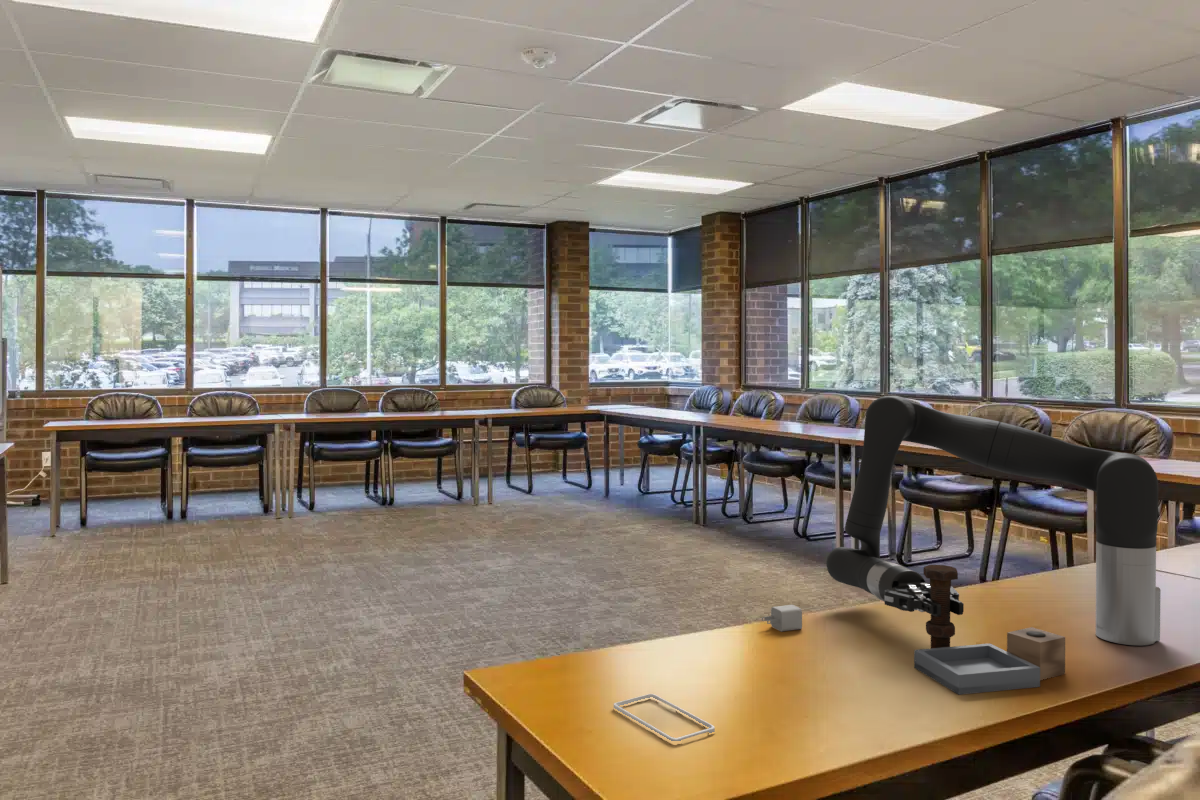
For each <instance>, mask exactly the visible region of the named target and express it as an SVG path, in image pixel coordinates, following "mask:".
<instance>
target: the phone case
mask: <svg viewBox="0 0 1200 800" xmlns="http://www.w3.org/2000/svg"><path fill="white" fill-rule="evenodd" d="M650 697H653V698H655V699H657V700H659V701H660V702H661V703H664V704H665V705H667V706H669V707H671V708H673V709H674V710H675V709H677V710H679V711H680V712H682V713H684V714H686V715H688V716H689V717H691V718H693V719H695V720H696V721H698V722H699V723H702V724H703V725H705V726H707V727H709V728H708V729H706V728H705V729H702V730H699V731H695V732H692V733H689V734H686V735H682V736H679V737H674V736H673V737H672V736H670V735H669V734H667V733H666V732H663V731H662V730H660V729H659V728H656V727H655V726H653V725H652V724H651V723H649V722H647V721H645V720H643V719H641V718H640V717H638V716H636V715H635V714H632V713H631V712H630V711H628V710H626V709H624V707H619V706H620V705H624V704H628V703H631V702H634V701H638V700H641V699H645V698H650ZM614 708H615V709H617V710H618V711H620V712H622V713H623V714H625V715H627V716H629V717H631V718H632V719H634V720H636V721H638V722H639V723H641V724H643V725H645V726H646V727H648V728H650V729H651V730H654V731H655V732H657V733H659V734H660V735H662V736H664V737H666V738H667V739H669V740H671V741H681V740H682V741H683V740H685V739H690V738H692V737H693V738H694V737H696V736H699V735H703V734H705V733H708V732H709V733H712V732H715V729H716V728H715V725H713V724H712V723H709V722H708V721H706V720H704V719H701V718H700V717H698V716H696V715H694V714H693V713H691V712H689V711H688V710H685V709H684V708H681V707H680V706H678V705H675V704H674V703H672V702H670V701H668V700H666V699H664V698H662V697H660V696H659V695H657V694H654V693H648V694H643V695H639V696H636V697H632V698H628V699H624V700H621V701H617V702H613V709H614Z"/></svg>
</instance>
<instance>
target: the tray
mask: <svg viewBox="0 0 1200 800" xmlns="http://www.w3.org/2000/svg"><path fill="white" fill-rule="evenodd" d="M913 653H914V654H913V656H914V657H913V659H914V660H913V662H914V663H913V665H914V666H913V667H914V669H915V668H916V669H915V670H917V671H919V672H920V671H921V672H920V673H922V674H924V675H925V676H927V677H929V678H930V679H932V680H933V681H936V682H937V683H938V684H940V685H942V686H943V687H945V688H947V689H949V690H950V691H952V692H954V694H956V695H958V696H959V695H970V694H977V693H978V694H979V693H989V692H999V691H1010V690H1020V689H1021V690H1022V689H1031V688H1038V687H1039V688H1040V687H1041V680H1040V667H1038V666H1036V665H1034V664H1032V663H1030V662H1028V661H1026V660H1023V659H1021V658H1019V657H1017V656H1015V655H1013V654H1011V653H1009V652H1007V650H1004V649H1003V648H1000V647H998V646H996V645H994V644H992V643H990V642H989V643H981V644H969V645H967V644H966V645H956V646H954V645H953V646H950V647H942V648H931V647H929V648H920V649H914V651H913Z"/></svg>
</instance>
